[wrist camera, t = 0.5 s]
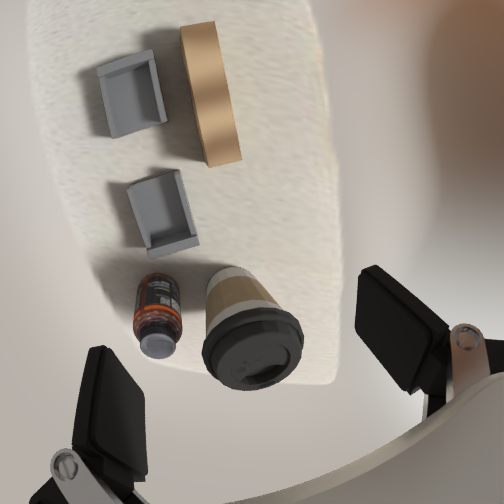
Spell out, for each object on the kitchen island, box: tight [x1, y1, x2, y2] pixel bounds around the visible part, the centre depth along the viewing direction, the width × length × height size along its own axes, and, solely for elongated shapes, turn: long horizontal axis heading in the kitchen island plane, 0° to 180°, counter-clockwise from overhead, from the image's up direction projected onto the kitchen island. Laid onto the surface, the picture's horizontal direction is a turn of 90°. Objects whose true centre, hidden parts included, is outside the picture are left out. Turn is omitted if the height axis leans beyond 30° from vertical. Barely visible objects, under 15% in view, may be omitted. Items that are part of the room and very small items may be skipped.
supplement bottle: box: [133, 274, 182, 359], centre depth 31 cm, size 6×6×11 cm
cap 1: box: [96, 49, 168, 139], centre depth 23 cm, size 9×6×3 cm
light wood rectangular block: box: [180, 21, 242, 168], centre depth 25 cm, size 16×4×5 cm, turn 11°
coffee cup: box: [202, 267, 304, 391], centre depth 33 cm, size 11×11×15 cm
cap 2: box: [126, 170, 200, 260], centre depth 30 cm, size 9×6×3 cm
